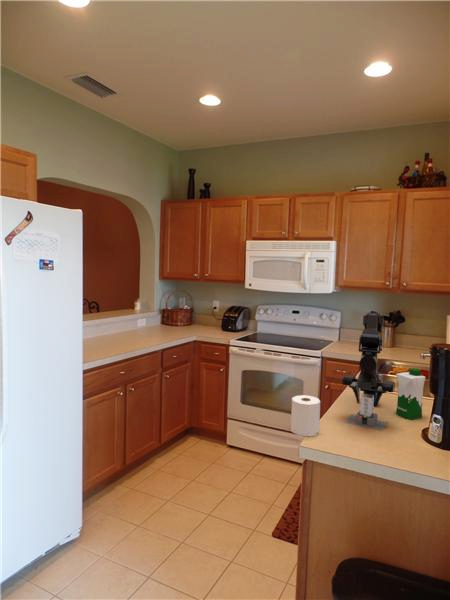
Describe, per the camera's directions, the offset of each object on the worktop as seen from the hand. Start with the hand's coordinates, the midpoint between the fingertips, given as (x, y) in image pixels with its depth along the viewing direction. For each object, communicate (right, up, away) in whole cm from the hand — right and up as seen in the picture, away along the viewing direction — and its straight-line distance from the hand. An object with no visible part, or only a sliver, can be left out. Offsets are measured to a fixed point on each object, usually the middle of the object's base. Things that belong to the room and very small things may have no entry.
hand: (367, 404), depth 155 cm
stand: (0, -8, +1) cm, 8 cm away
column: (0, -4, 0) cm, 4 cm away
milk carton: (+20, -8, +8) cm, 23 cm away
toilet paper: (-25, -8, -6) cm, 27 cm away
